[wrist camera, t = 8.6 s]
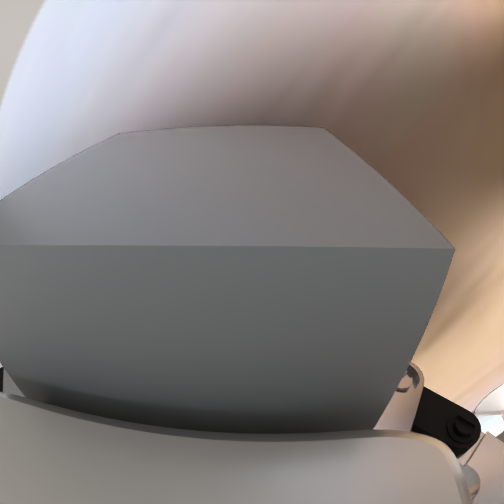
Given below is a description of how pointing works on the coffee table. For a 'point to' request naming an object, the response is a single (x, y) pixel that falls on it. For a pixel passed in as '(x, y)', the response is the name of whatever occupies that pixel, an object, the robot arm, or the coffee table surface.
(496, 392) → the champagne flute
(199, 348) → the grey rectangular box
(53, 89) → the coffee table surface
